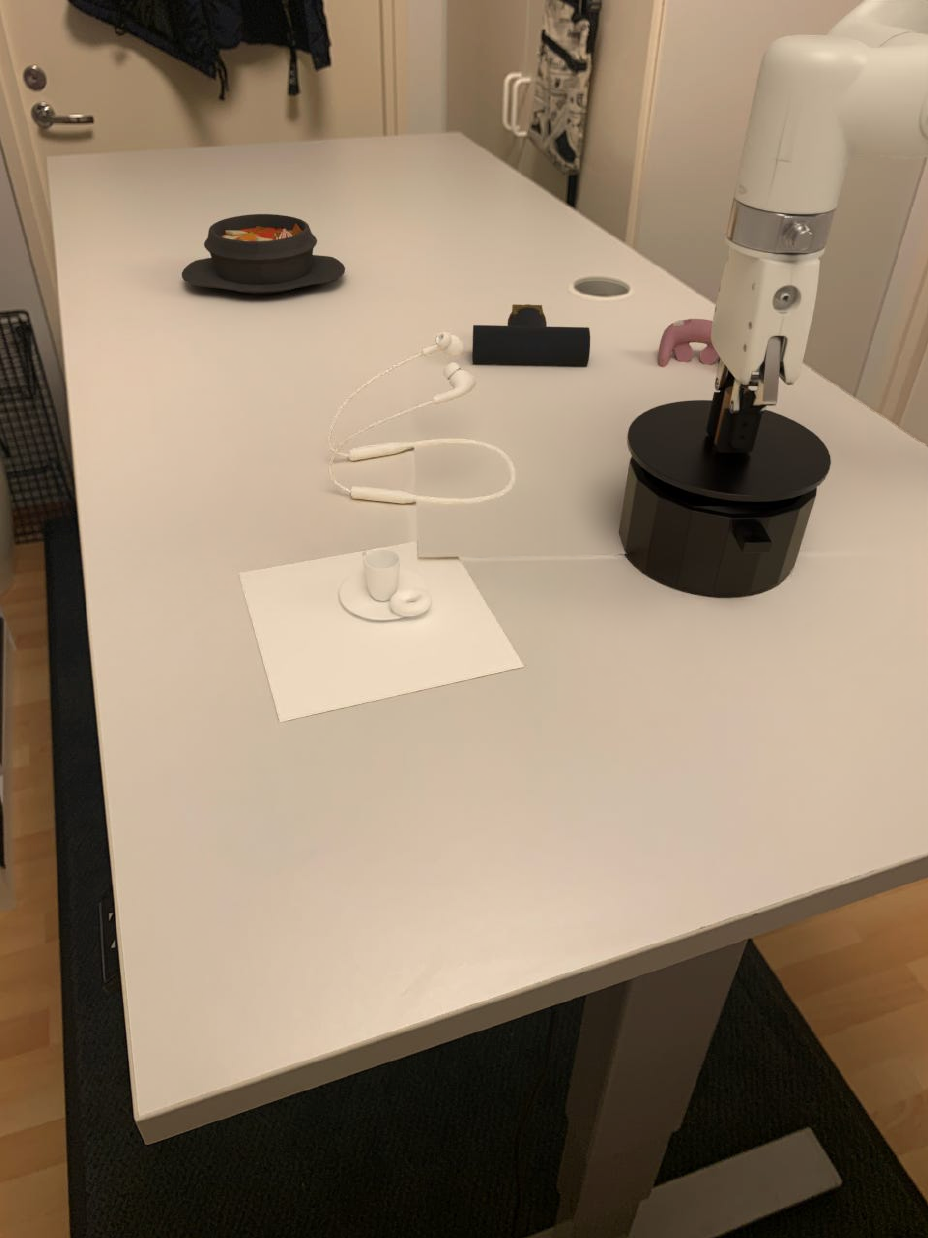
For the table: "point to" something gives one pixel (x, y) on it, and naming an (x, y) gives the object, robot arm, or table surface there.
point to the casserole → (261, 256)
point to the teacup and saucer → (370, 628)
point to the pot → (709, 538)
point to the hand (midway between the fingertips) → (728, 440)
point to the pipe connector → (530, 341)
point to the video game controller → (687, 341)
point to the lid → (727, 454)
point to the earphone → (461, 386)
